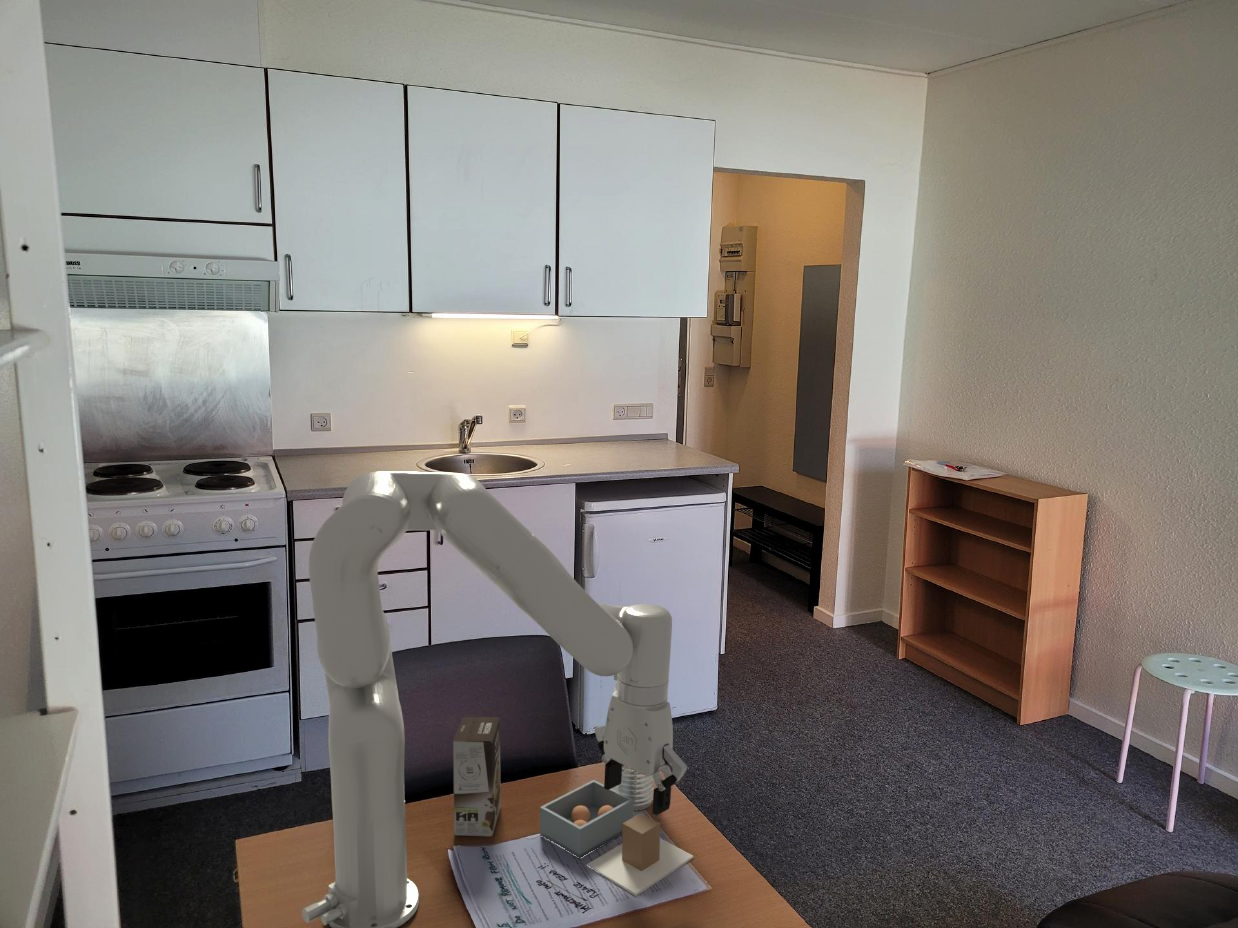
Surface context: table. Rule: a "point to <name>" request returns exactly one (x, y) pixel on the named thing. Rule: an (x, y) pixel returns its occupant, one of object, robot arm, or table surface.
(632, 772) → the water bottle
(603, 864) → the lid
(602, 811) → the ball
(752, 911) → the table surface
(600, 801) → the box
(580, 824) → the ball
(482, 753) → the coffee box
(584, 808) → the ball
